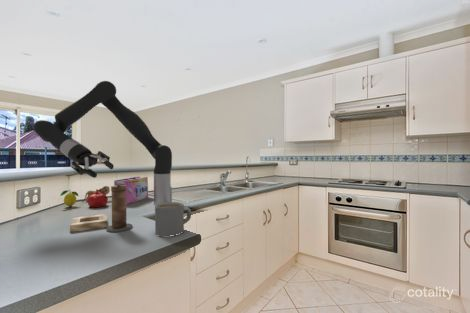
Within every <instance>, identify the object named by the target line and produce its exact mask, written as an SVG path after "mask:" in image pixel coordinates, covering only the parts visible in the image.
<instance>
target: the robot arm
mask: <svg viewBox="0 0 470 313" xmlns="http://www.w3.org/2000/svg"><path fill="white" fill-rule="evenodd" d="M116 94H117V87H116V85H115V84H114V83H113V82H111V81H108V80H100V81H99V82H98V83H97V84H96V85H95V86H94V87H93V88H92V89H91V90H90V91H89V92H87V93H86V94H85V95H83V96H82V97H81V98H79V99H78V100H76V101H74V102H73V103H71V104H70V105H68V106H66V107H65V108H63V109H61V110H60V111H59V112H57V113H55V115H54V120H55V121H54V123H53V122H52V121H50V120H47V119H39V120H37V121H36V122H34V124H33V131H34V132H35V134H36V135H38V137H40V139H41V140H43V141H44V142H46V143H50V144H51V145H52V146H53V147H54V148H55V149H57V150H58V151H59V152H60V153H62V154H63V155H64V156H65V157H67V158H68V159H69V160H71V161H72V162H71V167H70V168H71V169H73V170H74V171H75V172H76V173H78V174H79V175H81V176H82V175H84V174H87V175H88V176H89V177H92V178H94V179H95V178H97V175H98V173H97V172H96V171H94V170H93V169H92V167H93V166H95V165H104V166H105V167H107V168H108V169H110V170H113V169H114V164H113V163H112V162H111V161H110V159H111V157H110V156H108V155H107V154H105V153H104V152H102V151H97V153H93V152H92V151H91V149H89V148H88V147H86V146H85V145H83V143H80V141H77V140H75V139H74V138H73V137H71V136H69V135H68V134H66V131H67V130H68V129H69V127H71V126H72V125H73V124H75V123H76V122H78V121H79V120H80V119H82V118H83V117H84V116H85V115H86V114H87V113H89V112H90V111H91V110H93V109H94V107H96V106H99V105H100V104H101V105H103V106H104V107H105V108H106V109H107V110H109V112H110V113H111V114H112V115H113V116H115V118H116V119H117V120H118V121H119V122H120V123H121V124H122V125H123V127H124V128H125V129H126V131H128V132H129V134H131V135H132V136H133V137H134V138H135V140H137V141H138V142H139V143H141V144H142V145H143V147H145V149H146V150H147V152H148V153H149V154H150V155H151V157H152V158H153V159H154V161H155V162H154V164H155V165H154V168H153V205H154V206H155V205H157V204H160V203H166V202H173V189H172V188H173V187H172V184H171V183H172V182H171V181H172V179H171V178H172V176H171V170H172V167H173V166H172V165H173V164H172V163H173V152H172V150H171V148H170V147H169V146H167V145H162V143H160V142H159V141H158V140H157V139H156V138H155V136H154V135H153V134H152V132H151V130H150V128H149V127H148V126H147V124H146V123H145V122H144V120H143V119H142V118H141V117H140V116H139V115H138V114H137V113H136V112H135V111H133V110H131V109H130V108H128V107H127V106H125V105H124V103H122V102H121V100H119V98H118V97H117V95H116Z"/></svg>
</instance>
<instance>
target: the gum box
mask: <svg viewBox="0 0 470 313" xmlns="http://www.w3.org/2000/svg"><path fill="white" fill-rule="evenodd" d="M148 180H149V179H148V176H145V177H141V176H133V177H128V178H122V179H115V180H113V181H114V182H113V186H117V185H116V184H117V183H118V182H119V183H121V185H126V205H128V204H132V203H134V202H137V201H141V200H144V199H147V198H149V184H148V183H149V182H148Z"/></svg>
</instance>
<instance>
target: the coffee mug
mask: <svg viewBox="0 0 470 313" xmlns="http://www.w3.org/2000/svg"><path fill="white" fill-rule="evenodd" d="M185 212H186V217H185V216H184V214H185ZM184 217H185V218H184ZM191 218H192V210H191V209H190V208H189V207H187V206H185V205H184V203H183V202H179V201H177V202H176V201H172V202H166V203H160V204H157V205H155V204H154V223H155V225H154V228H155V229H154V230H155V232H154V235H155V236H156V235H159V236H170V235H176V234H179V233H181V232H183V230H184V231H185V226H184V225H185V224H186V223H188V222H189V221H190V220H191ZM183 233H184V232H183ZM159 236H158V237H159Z"/></svg>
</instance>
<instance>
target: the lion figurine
mask: <svg viewBox="0 0 470 313" xmlns="http://www.w3.org/2000/svg"><path fill="white" fill-rule="evenodd" d="M110 191H111V188H110V186H107V185H105V186H103V187H100V188H99V189H98V193H100V192H103V193H102V194H104V195H106V196H107V195H108V194H110ZM95 192H96V190H88V191H87V192H85V195H84V199H83V200H81V201H82V203H83V202H84V201H85V202H87V200H88V197H89V196H91V195H94V194H92V193H95ZM104 192H105V193H104ZM90 193H91V194H90Z"/></svg>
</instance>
